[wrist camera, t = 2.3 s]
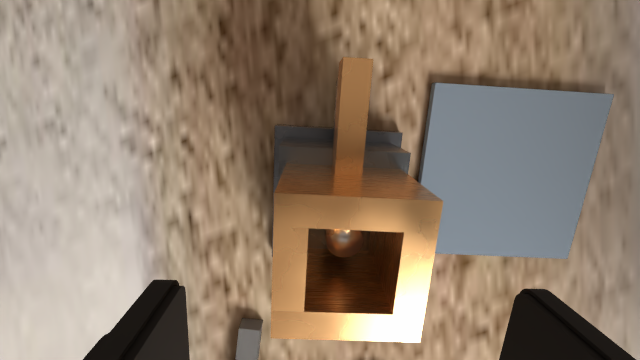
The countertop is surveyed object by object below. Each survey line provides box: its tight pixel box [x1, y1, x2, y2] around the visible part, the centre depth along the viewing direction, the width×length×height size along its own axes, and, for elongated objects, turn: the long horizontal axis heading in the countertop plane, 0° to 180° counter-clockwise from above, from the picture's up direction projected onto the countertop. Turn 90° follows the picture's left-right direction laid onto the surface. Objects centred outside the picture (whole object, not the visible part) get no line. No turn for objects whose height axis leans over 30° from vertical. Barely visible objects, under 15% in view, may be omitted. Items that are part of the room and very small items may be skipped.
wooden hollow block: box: [271, 57, 443, 342], centre depth 14 cm, size 6×11×6 cm, turn 177°
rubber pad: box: [418, 83, 614, 259], centre depth 22 cm, size 12×12×1 cm
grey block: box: [272, 79, 411, 258], centre depth 18 cm, size 8×13×8 cm, turn 176°
